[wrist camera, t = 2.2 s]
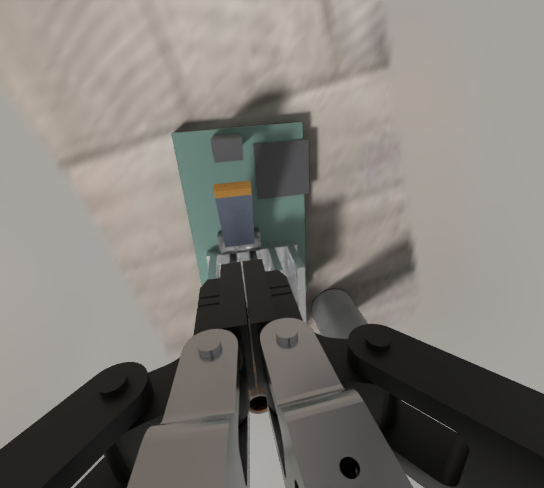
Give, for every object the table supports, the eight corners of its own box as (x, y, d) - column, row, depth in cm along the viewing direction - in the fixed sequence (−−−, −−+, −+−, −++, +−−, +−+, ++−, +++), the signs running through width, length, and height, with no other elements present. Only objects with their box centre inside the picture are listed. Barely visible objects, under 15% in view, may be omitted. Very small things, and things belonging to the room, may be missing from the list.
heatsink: (203, 233, 26) (199, 260, 21) (294, 223, 26) (308, 246, 22) (216, 306, 29) (215, 342, 24) (296, 294, 30) (309, 327, 25)
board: (173, 132, 23) (170, 133, 22) (303, 121, 24) (308, 121, 23) (207, 300, 30) (206, 308, 28) (307, 286, 31) (311, 293, 30)
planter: (356, 309, 33) (408, 386, 24) (322, 328, 34) (359, 412, 24) (340, 281, 31) (389, 353, 22) (303, 302, 32) (336, 382, 22)
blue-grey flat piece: (206, 182, 19) (207, 195, 19) (255, 177, 20) (257, 189, 19) (221, 246, 25) (222, 257, 24) (258, 241, 25) (260, 253, 25)
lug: (212, 135, 22) (210, 140, 19) (239, 133, 23) (241, 137, 19) (215, 156, 23) (214, 165, 19) (241, 154, 23) (244, 162, 20)
